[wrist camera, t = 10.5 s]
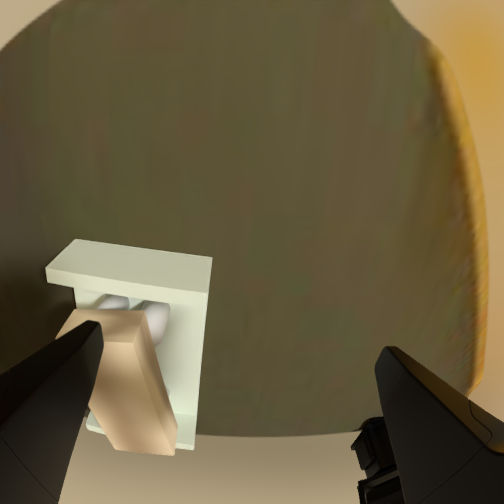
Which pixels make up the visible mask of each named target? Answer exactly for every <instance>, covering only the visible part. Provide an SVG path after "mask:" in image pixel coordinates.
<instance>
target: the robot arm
mask: <svg viewBox="0 0 504 504" xmlns="http://www.w3.org/2000/svg"><path fill="white" fill-rule="evenodd" d="M103 349H104V339H103V333H102V327H101V324H100V322H98V321H93V320H86V321H85V322H83V323H81V324H80V325H78V326H77V327H75V328H73V329H72V330H70V331H69V332H67V333H65V334H64V335H62V336H61V337H59V338H57V339H56V340H54V341H53V342H51V343H50V344H48V345H46V346H45V347H43V348H42V349H40V350H39V351H37V352H35V353H34V354H32V355H31V356H29V357H28V358H26V359H25V360H23V361H21V362H20V363H18V364H17V365H15V366H14V367H12V368H11V369H9V371H6V372H4V373H3V374H1V375H0V504H58V501H59V498H60V494H61V490H62V487H63V483H64V479H65V476H66V472H67V468H68V465H69V461H70V458H71V455H72V451H73V449H74V445H75V442H76V439H77V436H78V433H79V429H80V427H81V424H82V421H83V418H84V415H85V412H86V409H87V406H88V404H89V401H90V398H91V395H92V392H93V389H94V385H95V381H96V377H97V373H98V369H99V365H100V361H101V357H102V353H103ZM375 375H376V381H377V386H378V391H379V397H380V403H381V408H382V412H383V415H384V417H382V418H373V419H371V420H369V422H368V423H367V425H366V426H365V427H364V429H363V430H362V432H361V433H360V434H359V436H358V437H357V439H356V440H355V441H354V443H353V444H352V445H351V450H355V451H356V454H357V457H358V460H359V464H360V468H361V469H362V470H365V473H366V476H367V479H364V480H360V481H358V485H359V486H357V489H358V492H359V499H360V504H504V422H502V421H501V420H499V419H497V418H496V417H494V416H493V415H491V414H490V413H488V412H486V411H485V410H484V409H482V408H481V407H479V406H478V405H476V404H475V403H474V402H472V401H471V400H468V398H467V397H465V396H464V395H463V394H461V393H460V392H458V391H457V390H456V389H454V388H453V387H452V386H450V385H449V384H447V383H446V382H445V381H443V380H442V379H441V378H439V377H438V376H436V375H435V374H434V373H432V372H431V371H429V370H428V369H427V368H425V367H424V366H423V365H421V364H420V363H418V362H417V361H416V360H414V359H413V358H411V357H410V356H409V355H407V354H406V353H405V352H403V351H402V350H400V349H399V348H398V347H396V346H386V347H384V348H383V350H382V352H381V354H380V356H379V358H378V360H377V362H376V364H375Z"/></svg>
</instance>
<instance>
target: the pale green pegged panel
mask: <svg viewBox="0 0 504 504" xmlns="http://www.w3.org/2000/svg"><path fill="white" fill-rule="evenodd" d="M212 258H213V257H206V256H198V255H190V254H183V253H175V252H168V251H160V250H153V249H145V248H138V247H130V246H123V245H116V244H109V243H101V242H94V241H87V240H80V239H75V240H74V241H73V242H72V243H71V244H69V245H68V246H67V247H66V248H65V249H64V250H63V251H62V252H61V253H60V254H59V255H58V256H57V257H56V258H55V259H54V260H53V261H52V262H51V263H50V264H49V265H48V266H47V267H46V268H45V269H46V276H47V282H49V283H54V284H59V285H64V286H69V287H74V293H75V300H76V307H77V309H85V310H145V312H146V316H147V321H148V325H149V329H150V333H151V337H152V341H153V345H154V349H155V352H156V356H157V360H158V363H159V367H160V370H161V374H162V377H163V381H164V384H165V388H166V391H167V394H168V397H169V400H170V404H171V407H172V410H173V413H174V416H175V419H176V422H177V425H178V430H177V438H176V446H175V448H181V449H188V450H194V442H195V430H196V419H197V407H198V394H199V382H200V371H201V360H202V349H203V339H204V329H205V319H206V310H207V301H208V292H209V283H210V274H211V266H212ZM86 426H87V428H88V430H91V431H94V432H98V433H102V434H105V433H104V431H103V429H102V428H101V426H100V424H99V423H98V421H97V419H96V418H95V416H94V414H93V413H92V411H90V414H89V416H88V419H87V422H86Z"/></svg>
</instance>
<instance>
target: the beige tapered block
mask: <svg viewBox="0 0 504 504" xmlns="http://www.w3.org/2000/svg"><path fill="white" fill-rule="evenodd" d="M86 320H93V321H98V322H100V324H101V327H102V333H103V339H104V349H103V353H102V357H101V361H100V365H99V369H98V373H97V377H96V381H95V385H94V389H93V392H92V395H91V398H90V401H89V404H88V406H89V407H90V409H91V411H92V413H93V414H94V416H95V418H96V419H97V421H98V423H99V424H100V426H101V428H102V429H103V431H104V433H105V434H106V436H107V437H108V439H109V441H110V442H111V444H112V445H113V447H114V448H115V449H117V450H124V451H132V452H140V453H149V454H160V455H174V454H175V446H176V438H177V430H178V425H177V422H176V419H175V416H174V413H173V410H172V407H171V404H170V400H169V397H168V394H167V391H166V388H165V384H164V381H163V377H162V374H161V370H160V367H159V363H158V360H157V356H156V352H155V349H154V345H153V341H152V337H151V333H150V329H149V325H148V321H147V316H146V312H145V310H85V309H74V310H73V312H72V313H71V315H70V316H69V318H68V319H67V321H66V322H65V324H64V325H63V327H62V328H61V330H60V331H59V333H58V335H57V336H56V339H57V338H59V337H61V336H62V335H64V334H65V333H67V332H69V331H70V330H72V329H73V328H75V327H77V326H78V325H80V324H81V323H83V322H85V321H86Z"/></svg>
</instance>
